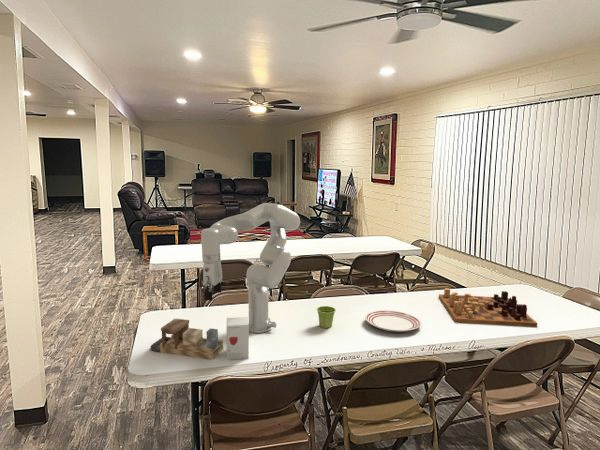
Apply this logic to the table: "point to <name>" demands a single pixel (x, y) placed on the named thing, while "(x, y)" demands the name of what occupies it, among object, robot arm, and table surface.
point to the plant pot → (326, 316)
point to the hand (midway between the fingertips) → (213, 296)
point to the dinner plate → (392, 320)
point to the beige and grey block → (201, 338)
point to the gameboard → (486, 309)
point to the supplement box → (237, 338)
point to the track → (176, 342)
